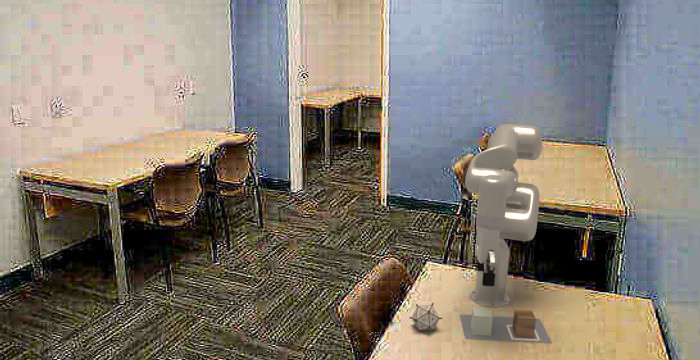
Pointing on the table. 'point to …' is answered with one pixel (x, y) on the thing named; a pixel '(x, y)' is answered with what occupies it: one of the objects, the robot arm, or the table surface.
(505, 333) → the board
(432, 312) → the game die
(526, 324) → the walnut block
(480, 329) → the sage block
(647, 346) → the table surface
